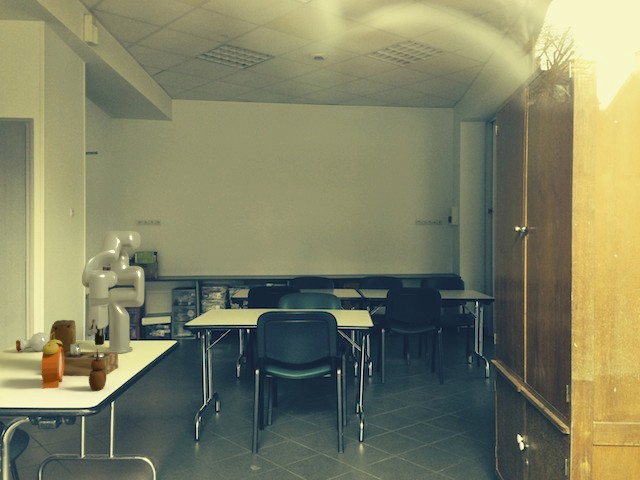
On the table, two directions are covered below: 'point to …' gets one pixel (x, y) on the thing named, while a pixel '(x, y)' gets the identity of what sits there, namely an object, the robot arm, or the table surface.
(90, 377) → the wooden figurine
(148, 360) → the table surface
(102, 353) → the peg
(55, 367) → the alarm clock
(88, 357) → the socket block
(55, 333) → the block
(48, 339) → the potion bottle
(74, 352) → the peg
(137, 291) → the robot arm
